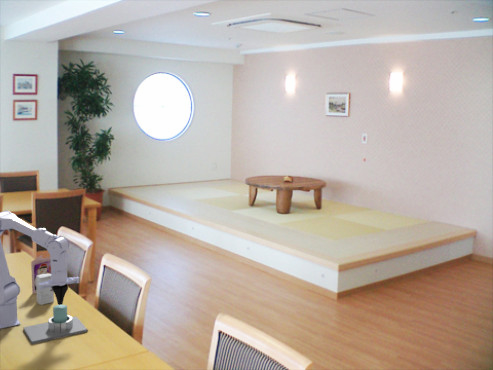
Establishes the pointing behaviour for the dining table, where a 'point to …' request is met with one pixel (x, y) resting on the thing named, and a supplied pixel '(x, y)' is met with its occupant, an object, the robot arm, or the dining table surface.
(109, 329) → the dining table surface
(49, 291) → the skincare box
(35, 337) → the board
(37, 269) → the greeting card
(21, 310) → the dining table surface
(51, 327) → the grey segmented ring
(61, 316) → the plug
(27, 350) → the dining table surface
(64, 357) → the dining table surface
